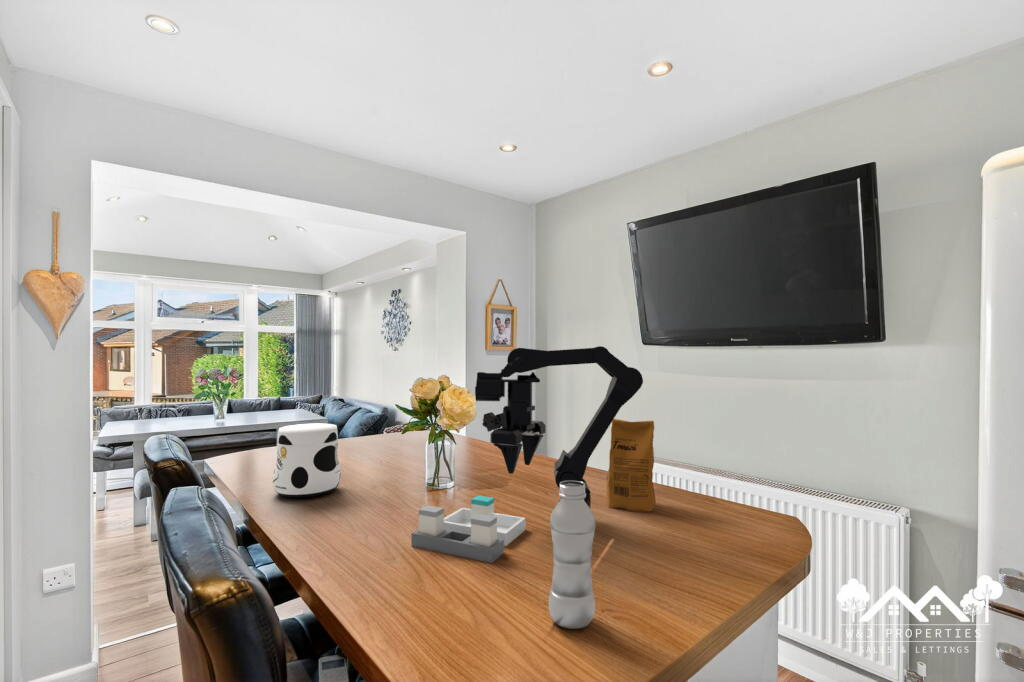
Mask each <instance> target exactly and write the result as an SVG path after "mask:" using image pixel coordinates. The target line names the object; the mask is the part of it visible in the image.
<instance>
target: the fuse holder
mask: <svg viewBox="0 0 1024 682" xmlns="http://www.w3.org/2000/svg"><path fill="white" fill-rule="evenodd" d="M411 547H415V548H419V549H424V550H427V551H433V552H439V553H442V554H443V553H444V554H447V555H451V556H457V557H461V558H467V559H470V560H474V561H475V560H476V561H480V562H484V563H489V564H493V563H494V562H495V561H496V560H497V559H499V558H500V557H501V556H502V555H503V554H504V553H505V550H504V549H505V546H504V540H503V539H498V538H497V542H496V543H495V544H494V545H492V546H491V547H487V546H482V545H477V544H472V543H471V533H466V532H461V531H455V530H450V529H445V528H444V532H442V533H441V534H439V535H437V536H432V535H427V534H422V533H419V528H418V529H416V530H415V531H412V532H411Z"/></svg>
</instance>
